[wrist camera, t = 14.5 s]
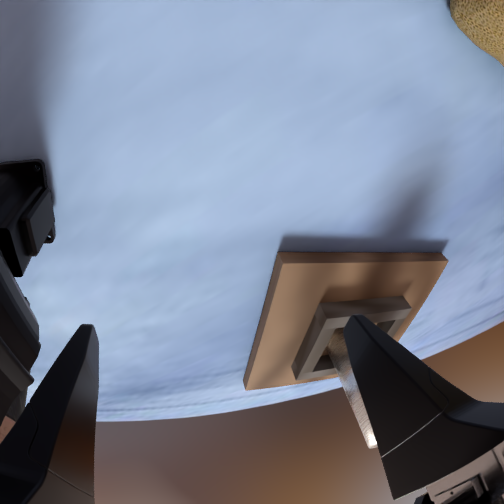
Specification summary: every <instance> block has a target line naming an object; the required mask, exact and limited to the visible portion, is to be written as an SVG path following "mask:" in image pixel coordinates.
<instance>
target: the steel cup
mask: <svg viewBox="0 0 504 504" xmlns="http://www.w3.org/2000/svg"><path fill="white" fill-rule="evenodd" d="M343 330H344V327H341V328H336V329H335V331H334V333H333V334H332V336H331V338H330V340H329V342H328V344H327V346H326V349H327V351H328V354H329V356H330V358H331V361H332V363H333V365H334V367H335V370H336V372H337V374H338V377H339V379H340V381H341V383H342V386H343V388H344V390H345V393H346V395H347V397H348V400H349V402H350V404H351V407H352V409H353V411H354V414H355V416H356V418H357V421H358V423H359V426H360V428H361V430H362V433H363V435H364V437H365V440H366V442H367V445H368V447H369V448H376V447H378V446H377V443H376V440H375V437H374V433H373V430H372V427H371V424H370V421H369V418H368V415H367V412H366V409H365V406H364V403H363V400H362V397H361V394H360V391H359V388H358V385H357V383H356V380H355V377H354V374H353V371H352V368H351V364H350V360H349V356H348V351H347V347H346V343H345V339H344V335H343Z"/></svg>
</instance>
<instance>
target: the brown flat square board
mask: <svg viewBox="0 0 504 504" xmlns="http://www.w3.org/2000/svg"><path fill="white" fill-rule="evenodd" d="M447 263H448V260H447V259H446V258H445V256H444V255H443V254H442V253H390V252H278V253H277V257H276V261H275V265H274V268H273V272H272V276H271V280H270V284H269V288H268V291H267V295H266V299H265V303H264V306H263V310H262V314H261V317H260V321H259V325H258V329H257V332H256V336H255V340H254V343H253V347H252V350H251V354H250V358H249V361H248V365H247V368H246V372H245V375H244V379H243V382H244V387H245V391H246V390H255V389H264V388H272V387H280V386H287V385H294V384H300V383H307V382H313V381H319V380H324V379H330V378H335V377H338V374H337V372H336V370H335V367H334V365H333V363H332V361H331V358H330V356H329V354H328V351H327V349H326V346H327V344H328V342H329V340H330V338H331V336H332V334H333V333H334V331H335V329H336V328H341V327H345V325H346V323H347V321H348V320H349V318H350V316H351V315H353V314H362V315H364V316H365V317H366V318H368V319H369V320H370V321H372V322H373V323H374V324H375V325H377V326H378V327H379V328H381V329H382V330H383V331H384V332H386V333H387V334H388V335H389V336H391V337H392V338H393V339H395V340H396V341H397V342H398V341H399V339H400V338H401V336H402V335H403V334H404V332H405V331H406V329H407V328H408V326H409V325H410V323H411V322H412V320H413V319H414V317H415V316H416V314H417V313H418V311H419V310H420V308H421V307H422V305H423V303H424V302H425V300H426V299H427V297H428V295H429V294H430V292H431V290H432V289H433V287H434V285H435V284H436V282H437V280H438V279H439V277H440V275H441V273H442V272H443V270H444V268H445V266H446V265H447Z"/></svg>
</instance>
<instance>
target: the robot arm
mask: <svg viewBox="0 0 504 504" xmlns="http://www.w3.org/2000/svg"><path fill="white" fill-rule="evenodd" d="M35 165H38V166H39V168H40V169H39V170H38V169H37V168H36V167H35ZM54 222H55V217H54V212H53V205H52V199H51V192H50V190H49V189H48V188H47V181H46V173H45V165H44V162H43V161H42V160H40V159H34V160H22V161H12V162H3V163H0V427H1V425H2V422H3V420H4V418H5V416H6V413H7V411H8V409H9V407H10V406H11V404H12V402H13V401H14V400H15V398H16V397H17V396H18V395H19V394H20V393H21V391H23V390H24V389H26V388H27V387H28V386H30V385H31V384H32V383H33V382H34V378H33V377H32V376H31V375H30V374H29V371H30V369H31V367H32V366H33V364H34V362H35V360H36V359H37V357H38V354H39V351H40V348H41V344H40V342H39V325H38V323H37V320H36V318H35V315H34V314H33V312H32V310H31V308H30V303H29V302H28V300H27V298H26V297H24V295H23V293H22V292H21V290H20V288H19V286H18V284H17V282H16V280H15V278H14V277H22V276H23V274H24V272H25V270H26V268H27V266H28V264H29V261H30V259H31V257H32V256H37V254H38V253H39V251H40V249H41V247H42V245H43V243H52V242H53V241H54V239H55V230H54V225H53V224H54ZM47 235H49V236H51V238H50V237H48V236H47ZM343 335H344V339H345V343H346V347H347V351H348V356H349V360H350V364H351V368H352V371H353V374H354V377H355V380H356V383H357V385H358V388H359V391H360V394H361V397H362V400H363V403H364V406H365V409H366V412H367V415H368V418H369V421H370V424H371V427H372V430H373V433H374V437H375V440H376V443H377V446H378V449H379V453H380V455H381V457H382V458H381V459H382V462H383V466H384V469H385V473H386V476H387V480H388V483H389V486H390V490H391V493H392V497H393V499H394V500H396V499H398V498H401V497H403V496H406V495H408V494H410V493H413V492H415V491H417V490H419V489H422V488H424V487H426V489H427V492H426V493H425V494H423V495H421V496H420V497H418V498H416V500H415V503H414V504H504V403H493V402H481V401H478V400H475V399H474V398H472V397H470V396H469V395H467V394H466V393H464V392H463V391H461V390H460V389H458V388H456V387H455V386H454V385H452V384H451V383H450V382H448V381H447V380H445V379H444V378H442V377H441V376H440V375H439V374H437V373H436V372H435V371H434V370H432V369H431V368H430V367H428V366H427V365H426V364H425V363H424V362H422V361H421V360H420V359H419V358H417V357H416V356H415V355H414V354H412V353H411V352H410V351H408V350H407V349H406V348H405V347H403V346H402V345H401V344H400V343H398V342H397V341H396V340H395V339H393V338H392V337H391V336H389V335H388V334H387V333H386V332H384V331H383V330H382V329H381V328H379V327H378V326H377V325H375V324H374V323H373V322H372V321H370V320H369V319H368V318H366V317H365V316H364V315H362V314H353V315H351V316H350V318H349V320H348V321H347V323H346V325H345V327H344V330H343ZM98 390H99V341H98V337H97V334H96V331H95V328H94V326H93V325H92V324H82V325H80V327H79V328H78V329H77V331H76V332H75V334H74V335H73V336H72V338H71V339H70V341H69V342H68V343H67V345H66V346H65V348H64V349H63V351H62V352H61V353H60V355H59V356H58V358H57V359H56V361H55V362H54V364H53V365H52V367H51V368H50V370H49V371H48V373H47V374H46V376H45V377H44V379H43V380H42V382H41V383H40V385H39V386H38V388H37V390H36V391H35V393H34V394H33V396H32V397H31V399H30V403H28V404H27V405H26V407H25V409H24V410H23V412H22V413H21V415H20V417H19V418H18V420H17V421H16V423H15V424H14V426H13V427H12V428H11V430H10V431H9V433H8V434H7V435H6V437H5V438H4V439H3V441H2V442H1V443H0V504H95V502H94V448H95V427H96V413H97V401H98Z"/></svg>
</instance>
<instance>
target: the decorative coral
mask: <svg viewBox="0 0 504 504" xmlns="http://www.w3.org/2000/svg"><path fill="white" fill-rule="evenodd" d="M450 11H451V17H452V18H453V20H454V21H455V23H456V25H457V26H458V28H459V29H460V30H461V31H462V32H463V33H464V34H465V35H466V36H467V37H468V38H469V39H470V40H471V41H472V42H473V43H474V44H475V45H477V46H478V47H479V48H480V49H482V50H483V51H485V52H486V53H488V54H490V55H491V56H493V57H494V58H495V59H497V60H498V61H499V62H500V63H501V64H502V65H503V66H504V0H450Z"/></svg>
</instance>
